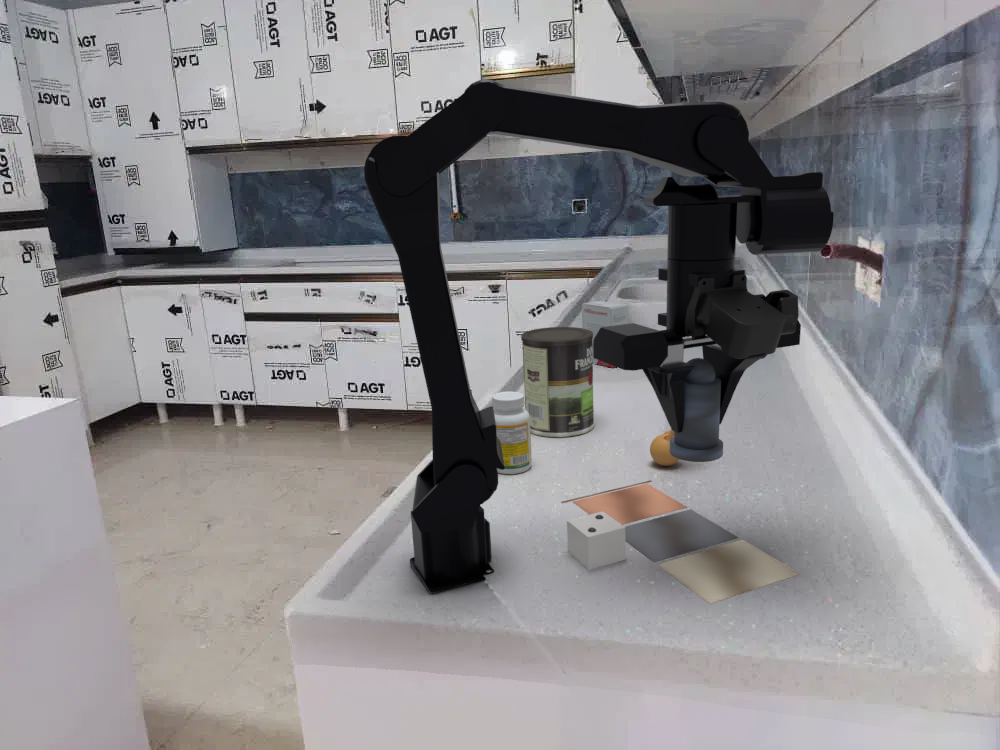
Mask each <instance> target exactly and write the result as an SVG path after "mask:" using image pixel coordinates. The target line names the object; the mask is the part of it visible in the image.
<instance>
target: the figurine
mask: <svg viewBox="0 0 1000 750" xmlns="http://www.w3.org/2000/svg"><path fill="white" fill-rule="evenodd" d="M673 437H674V431H673V430H672V429H671V428H670V430H668V431H664V433H662V434H660V435H657V436H656V437H655V438H654V439H652V441H651V443H650V446H649V453H650V456H651V459H652V460H653V461H654V462H655V463H656V464H658V465H660V466H662V467H663V466H664V467H668V466H673V465H675V464H676V463H678V461H680V459H678V458H676V457H674V456H672V455H671V454H670V439H671V438H673Z"/></svg>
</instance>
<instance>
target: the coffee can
mask: <svg viewBox="0 0 1000 750" xmlns="http://www.w3.org/2000/svg"><path fill="white" fill-rule="evenodd" d="M520 338H521V342H522V359H523V360H522V361H523V362H522V363H523V384H524V385H523V386H524V387H523V388H524V406H525V408H524V409H525V410H526V411H527V412H528V413H529V415H530V432H531V434H533V435H536V436H540V437H544V438H545V437H546V438H547V437H548V438H569V437H576V436H580V435H581V436H582V435H584V434H587V433H589V432H591V431H592V430H593V429H594V428H595V422H594V420H595V419H594V416H595V415H594V374H593V373H594V364H593V354H592V338H593V332H592V331H590V330H587V329H583V328H582V327H576V326H575V327H573V326H553V327H541V328H535V329H530V330H528V331H524V332H522V333H521V336H520Z"/></svg>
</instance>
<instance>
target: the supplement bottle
mask: <svg viewBox="0 0 1000 750" xmlns="http://www.w3.org/2000/svg"><path fill="white" fill-rule="evenodd" d="M491 399H492V400H491V404H492V405H491V406H492V407H493V409H494V416H495V422H496V433H497V438H498V439H499V440H500V442H501V447H502V453H503V460H504V466H505V469H504V470H501V469H498V468H497V469H498V474H502V475H517V474H521V473H524V472H527V471H528V470H529V469H531V467H532V463H533V461H532V460H533V459H532V437H531V435H532V433H531V432H530V415H529V413H528V412H527V411H526V410H525V408H524V406H525V394H523V393H522V392H518V391H501V392H497V393H494V394H492V396H491Z"/></svg>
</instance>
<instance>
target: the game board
mask: <svg viewBox="0 0 1000 750" xmlns="http://www.w3.org/2000/svg"><path fill="white" fill-rule="evenodd" d="M651 482H653V480H646V481H642V482H638V483H634V484H630V485H626V486H621V487H618V488H617V487H616V488H613V489H608V490H604V491H600V492H595V493H593V494H588V495H583V496H579V497H575V498H572V499H567V500H563V501H561V504H565V503H569V502H572V503H573V504H575V505H576V506H577V507H579V508H580V509H581V510H583V511H584V512H586V513H587V515H590V514H594V513H598V512H602V511H603V512H604V513H606V514H607V515H609V516H610V517H611V518H613V519H614V520H616V521H617V522H618V523H620V524H621V525H623V526H624V527H625V543H627V544H629V546H631V547H633V548H634V549H636V551H638V552H640V553H641V554H642V555H643V556H644V557H646V558H647V559H649V560H650V561H652V562H653V563H655V562H656V563H657V562H659V561H663V560H667V559H670V558H673V557H676V556H680V555H683V554H686V553H690V552H691V553H692V552H694V551H697V550H700V549H704V548H708V547H711V546H714V545H717V544H721V543H725V542H728V541H731V540H736V539H738V538H739V536H737V535H735V534H734V533H732V532H730V531H728V530H727V529H725V528H724V527H722V526H720V525H719V524H717V523H715V522H713V521H711V520H710V519H708V518H707V517H706V516H703V515H702V514H700V513H698V512H696V511H695V510H693V509H692V508H690V509H687V508H688V506H686V505H684V504H683V503H682V502H679V501H678V500H677V499H675V498H673V497H671V496H669V495H668V494H666V493H664V492H663V491H661V490H659V489H657V488H656V487H654V486H652V484H650V483H651ZM683 509H686V510H683ZM678 510H683V511H678ZM676 511H678V512H676ZM671 512H676V513H671ZM667 513H670V514H668V515H664V514H667ZM660 515H662V516H660ZM663 515H664V516H663ZM657 516H660V517H657ZM652 517H655V518H653V519H649V518H652ZM645 519H649V520H645ZM640 520H643V521H640ZM637 521H640V522H637ZM633 522H637V523H633ZM629 523H633V524H629ZM625 524H628V525H627V526H626V525H625ZM657 566H658V567H659V568H661V569H662V570H663V571H665V572H666V573H668V574H669V575H670V576H671V577H673V578H675V579H676V580H677V581H678V582H679V583H681V584H682V585H683V586H685V587H686V588H687V589H689V590H690V591H692V592H693V593H694V594H696V595H697V596H699V597H700V598H701V599H702V600H704V601H706V602H707V603H708V604H710V605H712V604H714V603H717V602H720V601H723V600H726V599H730V598H733V597H736V596H739V595H741V594H742V595H743V594H744V593H748V592H751V591H754V590H757V589H759V588H763V587H766V586H769V585H773V584H775V583H778V582H781V581H784V580H787V579H790V578H793V577H797V576H800V575H801V573H800V572H798V571H797V570H794V569H793V568H792V567H789V566H788V565H786V564H784V563H783V562H781V561H779V560H777V559H776V558H774V557H773V556H771V555H770V554H767V553H766V552H764V551H763V550H761V549H759V548H757V547H756V546H754V545H753V544H751V543H750V542H747V541H746V540H743V539H741V540H737V541H733V542H730V543H726V544H723V545H720V546H717V547H712V548H709V549H706V550H704V551H700V552H696V553H693V554H688V555H685V556H683V557H680V558H675V559H672V560H669V561H665V562H663V563H658V564H657Z"/></svg>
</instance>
